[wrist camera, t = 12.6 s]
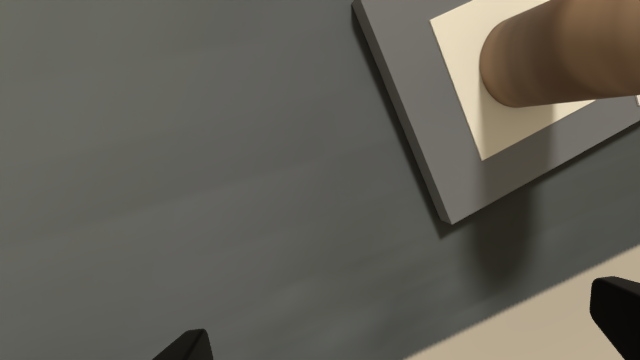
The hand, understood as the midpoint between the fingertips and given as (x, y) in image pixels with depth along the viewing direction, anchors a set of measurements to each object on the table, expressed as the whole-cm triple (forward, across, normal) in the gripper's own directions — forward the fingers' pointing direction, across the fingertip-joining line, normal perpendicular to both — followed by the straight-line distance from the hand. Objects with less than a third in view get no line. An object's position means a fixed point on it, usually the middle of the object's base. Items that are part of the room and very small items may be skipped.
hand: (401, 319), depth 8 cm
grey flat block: (+14, -11, -5) cm, 19 cm away
